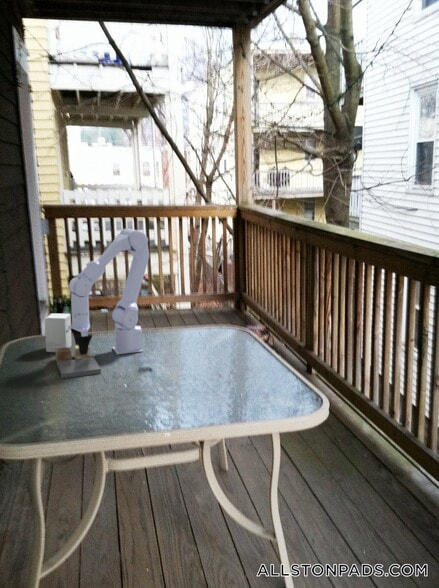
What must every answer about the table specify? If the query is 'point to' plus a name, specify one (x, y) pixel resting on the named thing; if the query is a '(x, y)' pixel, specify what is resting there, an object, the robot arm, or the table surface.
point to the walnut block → (63, 354)
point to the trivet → (78, 367)
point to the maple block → (78, 355)
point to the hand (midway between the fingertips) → (81, 350)
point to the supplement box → (57, 331)
